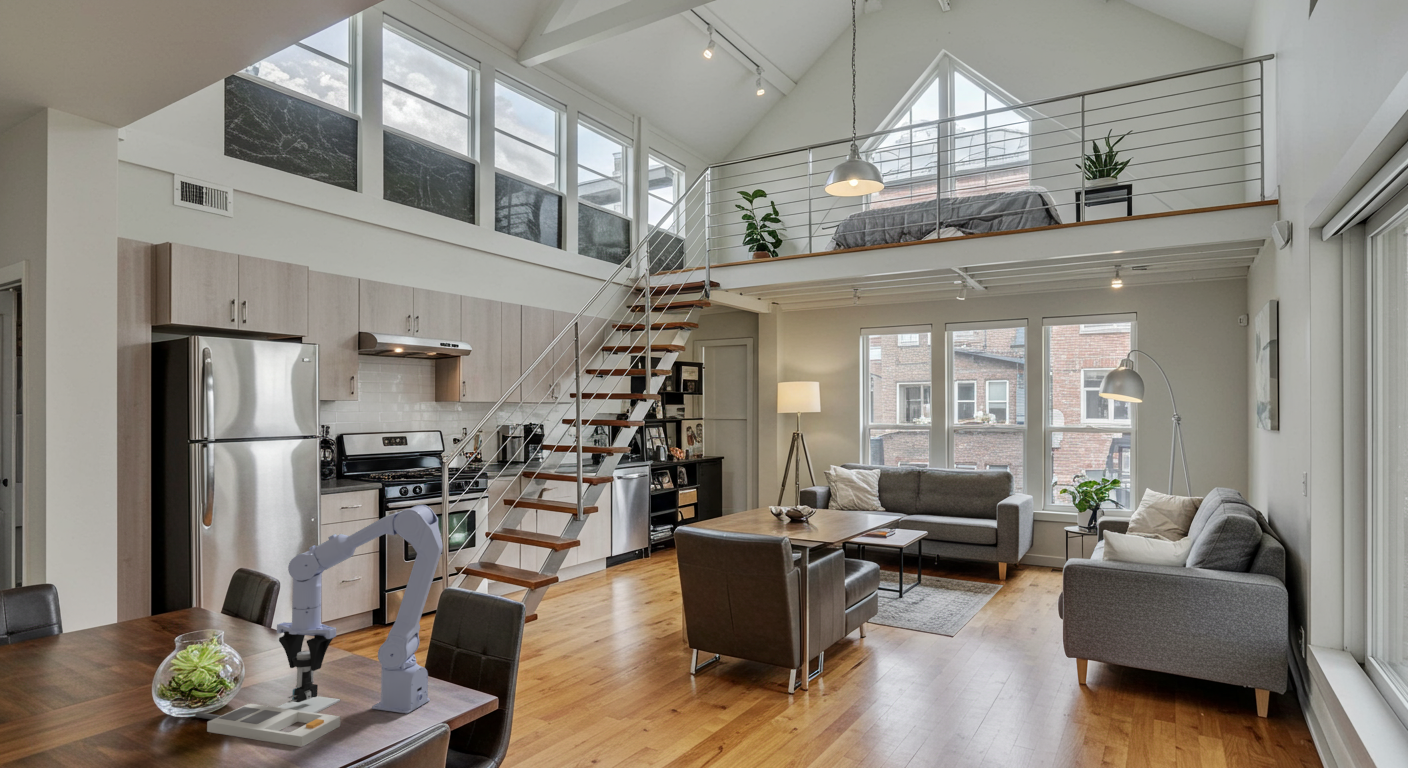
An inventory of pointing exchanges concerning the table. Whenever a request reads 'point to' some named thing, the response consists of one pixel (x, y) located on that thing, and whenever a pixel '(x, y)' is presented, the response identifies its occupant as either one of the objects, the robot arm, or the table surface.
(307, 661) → the push button
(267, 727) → the white compartment tray
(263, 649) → the table surface
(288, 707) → the mat
